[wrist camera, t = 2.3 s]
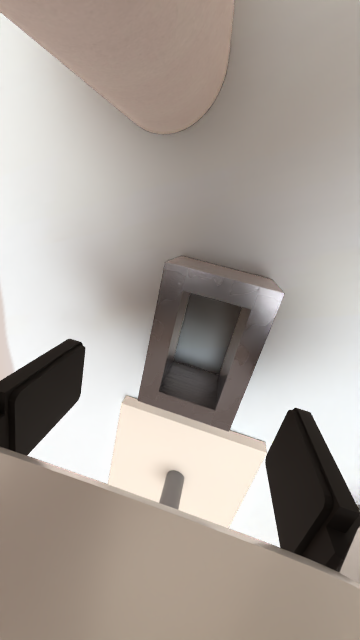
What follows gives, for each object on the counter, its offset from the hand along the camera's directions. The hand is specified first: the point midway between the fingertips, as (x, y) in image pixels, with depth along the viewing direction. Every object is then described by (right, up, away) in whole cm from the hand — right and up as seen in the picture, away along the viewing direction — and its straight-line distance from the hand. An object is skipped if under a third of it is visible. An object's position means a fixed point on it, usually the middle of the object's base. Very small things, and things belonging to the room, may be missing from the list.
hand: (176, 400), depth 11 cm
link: (+2, +3, +6) cm, 7 cm away
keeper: (0, -10, +12) cm, 15 cm away
